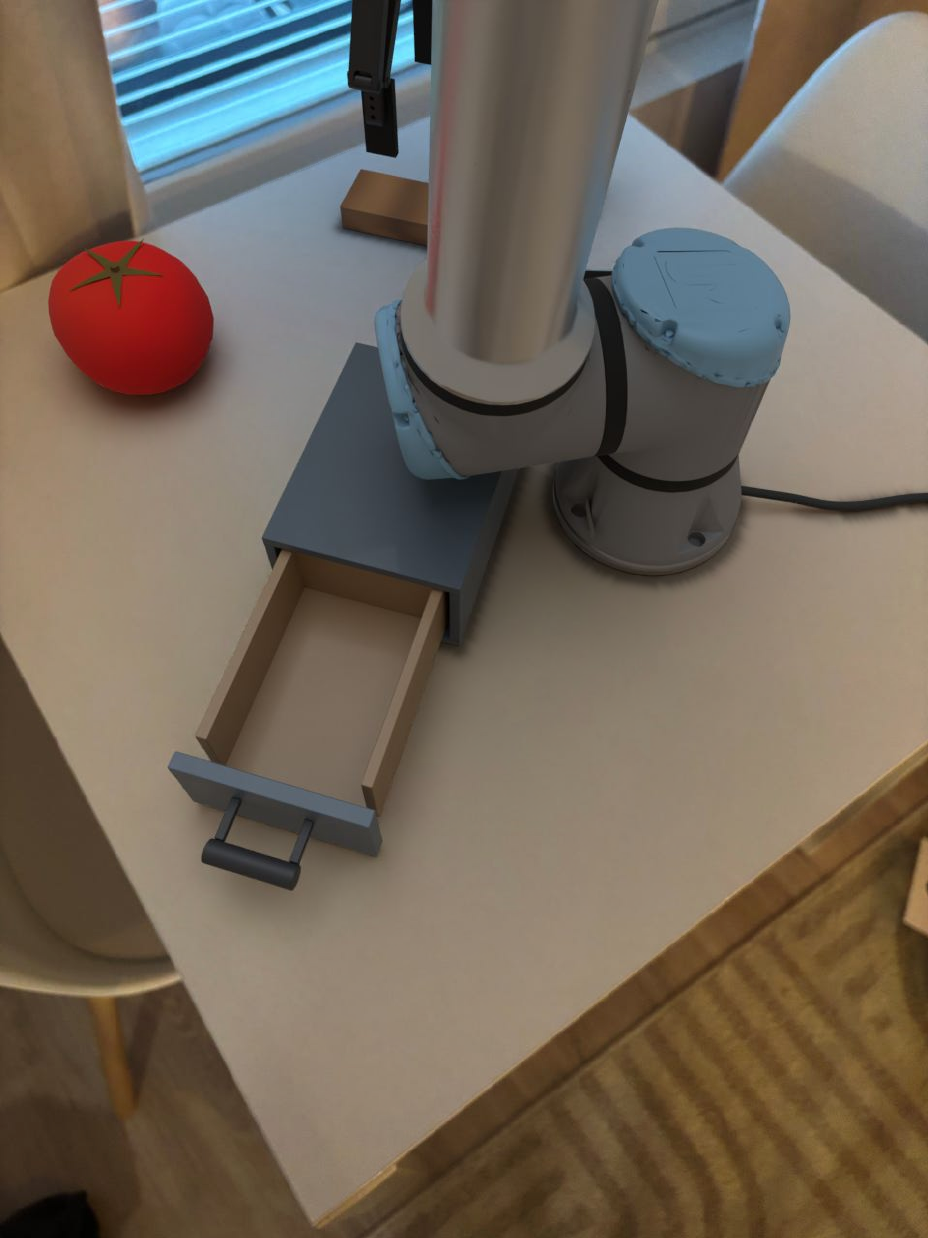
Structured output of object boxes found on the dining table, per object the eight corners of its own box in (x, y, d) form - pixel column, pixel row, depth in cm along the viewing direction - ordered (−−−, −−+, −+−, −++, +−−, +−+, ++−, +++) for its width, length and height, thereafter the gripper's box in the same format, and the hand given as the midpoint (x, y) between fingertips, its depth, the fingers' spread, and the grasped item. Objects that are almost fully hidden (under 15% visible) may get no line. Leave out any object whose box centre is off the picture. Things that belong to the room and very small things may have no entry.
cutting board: (483, 215, 96) (484, 193, 93) (466, 254, 93) (467, 232, 91) (362, 190, 97) (360, 168, 95) (342, 227, 94) (339, 206, 92)
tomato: (255, 365, 85) (231, 272, 76) (138, 444, 81) (98, 355, 72) (160, 285, 90) (127, 190, 81) (44, 356, 86) (-4, 262, 77)
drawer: (354, 922, 61) (344, 899, 55) (165, 863, 63) (135, 834, 57) (457, 625, 72) (457, 578, 66) (292, 581, 73) (278, 532, 67)
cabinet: (459, 647, 72) (460, 589, 64) (280, 598, 74) (261, 537, 66) (525, 452, 81) (532, 382, 73) (364, 414, 83) (355, 341, 75)
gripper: (399, -267, 72) (410, 21, 91) (277, -106, 60) (318, 185, 79) (494, -253, 71) (485, 35, 90) (388, -87, 60) (403, 203, 78)
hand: (406, 105), depth 84 cm, fingers open, 13 cm apart
